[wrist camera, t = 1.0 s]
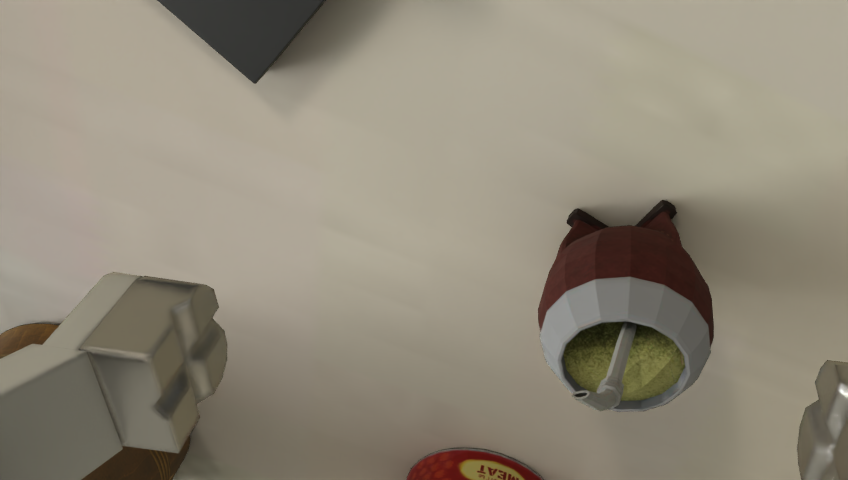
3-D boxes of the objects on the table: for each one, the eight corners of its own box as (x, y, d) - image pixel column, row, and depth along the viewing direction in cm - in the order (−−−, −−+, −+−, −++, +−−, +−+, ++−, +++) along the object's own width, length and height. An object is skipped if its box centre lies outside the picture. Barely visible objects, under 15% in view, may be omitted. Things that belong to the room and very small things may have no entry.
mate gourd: (638, 326, 40) (636, 610, 28) (507, 246, 38) (447, 506, 27) (746, 230, 35) (799, 521, 23) (602, 137, 34) (580, 391, 22)
